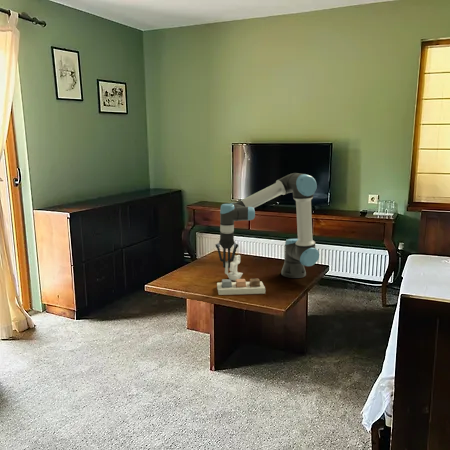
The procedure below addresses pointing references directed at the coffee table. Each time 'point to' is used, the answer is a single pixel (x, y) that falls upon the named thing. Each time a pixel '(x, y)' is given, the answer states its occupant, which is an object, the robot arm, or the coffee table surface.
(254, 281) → the walnut key
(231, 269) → the figurine
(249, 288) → the key block
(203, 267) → the coffee table surface
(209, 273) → the coffee table surface
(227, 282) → the slate key
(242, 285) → the terracotta key
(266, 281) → the coffee table surface
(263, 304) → the coffee table surface
